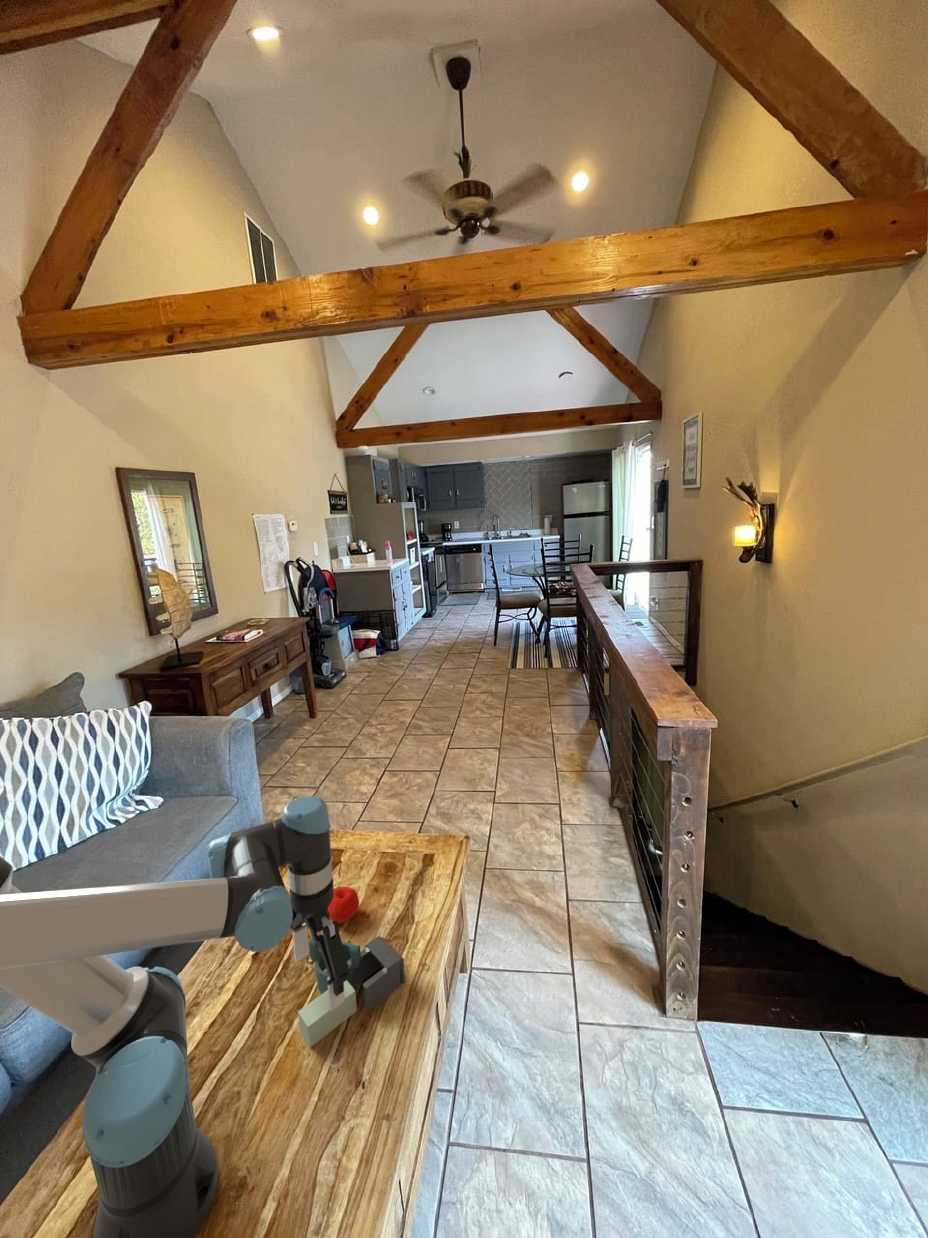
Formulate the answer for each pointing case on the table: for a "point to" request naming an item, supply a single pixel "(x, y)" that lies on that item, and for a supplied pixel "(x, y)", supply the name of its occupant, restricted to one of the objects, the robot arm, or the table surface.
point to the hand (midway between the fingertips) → (318, 980)
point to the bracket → (315, 954)
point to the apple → (343, 905)
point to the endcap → (384, 980)
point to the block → (325, 1015)
